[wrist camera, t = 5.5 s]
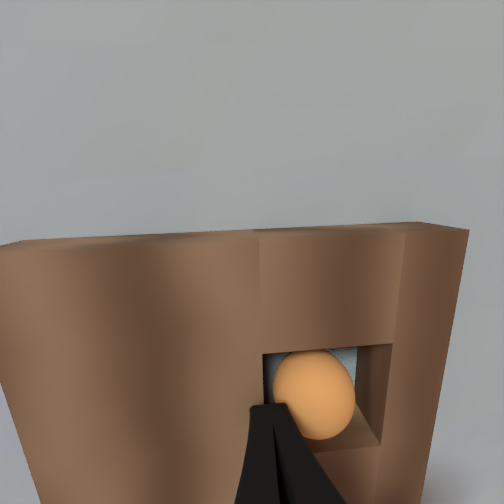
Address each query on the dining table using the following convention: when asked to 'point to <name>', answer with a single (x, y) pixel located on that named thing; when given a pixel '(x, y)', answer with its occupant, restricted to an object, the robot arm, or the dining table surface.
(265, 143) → the dining table surface
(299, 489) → the robot arm
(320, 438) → the ball
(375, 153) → the dining table surface
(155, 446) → the board
